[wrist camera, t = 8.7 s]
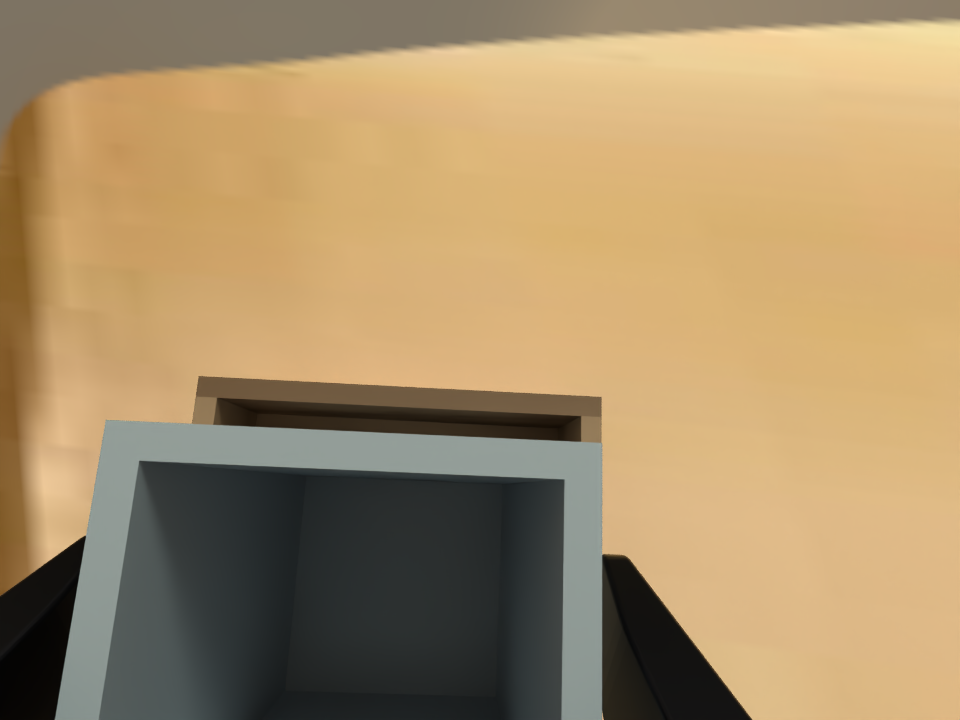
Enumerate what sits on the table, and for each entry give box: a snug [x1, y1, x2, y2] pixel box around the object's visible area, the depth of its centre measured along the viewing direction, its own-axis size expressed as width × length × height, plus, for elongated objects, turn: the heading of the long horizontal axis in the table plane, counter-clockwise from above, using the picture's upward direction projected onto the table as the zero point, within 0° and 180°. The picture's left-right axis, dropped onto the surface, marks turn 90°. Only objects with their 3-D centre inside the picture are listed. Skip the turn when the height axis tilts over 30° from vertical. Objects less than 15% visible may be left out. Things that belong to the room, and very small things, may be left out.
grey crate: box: [55, 420, 602, 720], centre depth 12 cm, size 6×6×10 cm
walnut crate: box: [192, 376, 601, 443], centre depth 16 cm, size 10×10×4 cm
